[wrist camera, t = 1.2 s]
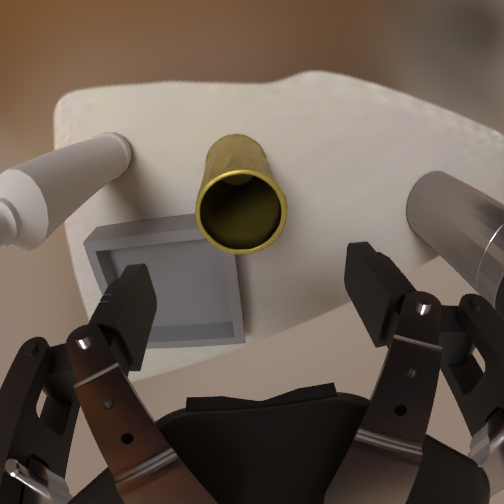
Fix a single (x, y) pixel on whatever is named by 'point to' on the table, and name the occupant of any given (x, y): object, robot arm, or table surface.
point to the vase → (239, 197)
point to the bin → (175, 279)
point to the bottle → (56, 187)
